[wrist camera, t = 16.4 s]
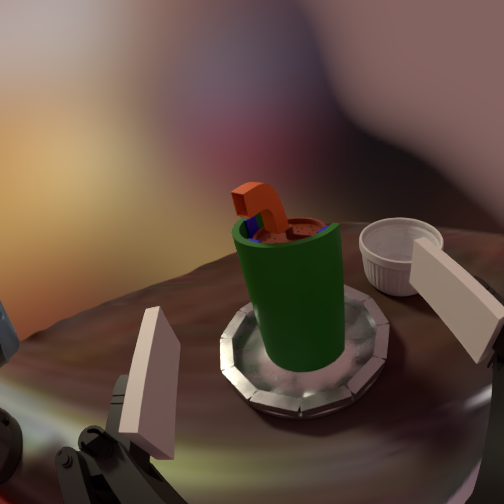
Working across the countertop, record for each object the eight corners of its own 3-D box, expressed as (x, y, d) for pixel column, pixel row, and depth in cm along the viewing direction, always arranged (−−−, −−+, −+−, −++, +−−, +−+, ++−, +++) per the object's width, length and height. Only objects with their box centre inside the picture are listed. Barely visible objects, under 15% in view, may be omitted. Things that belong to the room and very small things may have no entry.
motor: (357, 331, 31) (349, 162, 21) (317, 386, 26) (288, 200, 16) (292, 307, 38) (260, 163, 28) (248, 350, 33) (193, 194, 23)
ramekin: (448, 299, 32) (456, 258, 28) (362, 307, 36) (362, 265, 33) (426, 250, 42) (429, 215, 39) (357, 256, 47) (355, 220, 44)
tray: (231, 436, 24) (223, 426, 23) (224, 316, 41) (219, 302, 40) (413, 382, 23) (418, 368, 22) (350, 282, 41) (350, 268, 40)
